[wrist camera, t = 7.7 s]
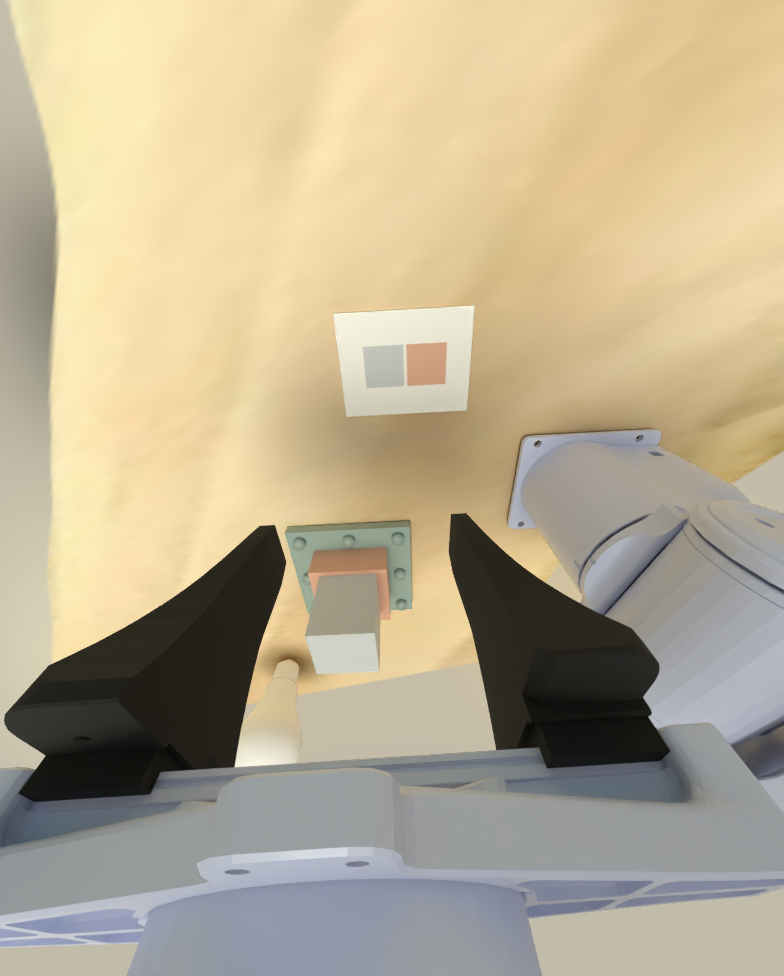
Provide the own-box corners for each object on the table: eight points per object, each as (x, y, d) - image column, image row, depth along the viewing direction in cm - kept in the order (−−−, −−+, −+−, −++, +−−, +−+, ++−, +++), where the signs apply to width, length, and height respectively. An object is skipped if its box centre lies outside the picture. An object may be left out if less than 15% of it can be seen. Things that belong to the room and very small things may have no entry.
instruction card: (474, 305, 18) (474, 305, 17) (466, 409, 21) (466, 410, 21) (333, 313, 18) (332, 313, 18) (346, 416, 21) (346, 417, 21)
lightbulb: (303, 680, 38) (275, 807, 28) (254, 665, 36) (207, 796, 26) (326, 655, 35) (304, 786, 26) (274, 638, 33) (231, 771, 24)
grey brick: (376, 573, 24) (374, 633, 20) (380, 610, 26) (379, 671, 22) (319, 576, 24) (305, 636, 20) (328, 613, 26) (317, 674, 22)
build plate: (409, 520, 25) (410, 530, 24) (411, 601, 31) (412, 613, 29) (287, 526, 25) (283, 537, 24) (310, 606, 31) (307, 618, 30)
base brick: (386, 547, 26) (386, 569, 24) (390, 595, 29) (390, 619, 27) (314, 550, 26) (307, 573, 24) (325, 599, 29) (321, 622, 27)
